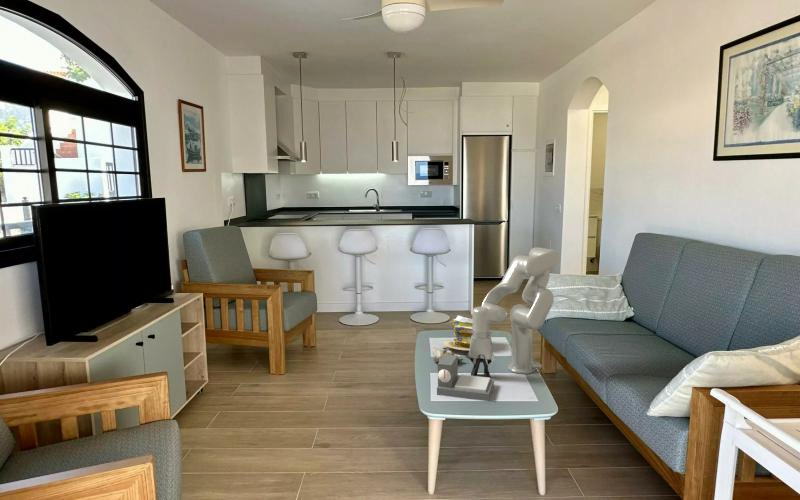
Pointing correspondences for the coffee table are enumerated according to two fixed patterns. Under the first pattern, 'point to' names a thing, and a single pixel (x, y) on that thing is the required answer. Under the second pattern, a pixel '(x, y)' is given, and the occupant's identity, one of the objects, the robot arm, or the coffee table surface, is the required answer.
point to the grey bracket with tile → (461, 381)
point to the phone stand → (475, 370)
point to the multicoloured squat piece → (461, 333)
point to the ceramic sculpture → (439, 354)
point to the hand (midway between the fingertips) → (480, 372)
